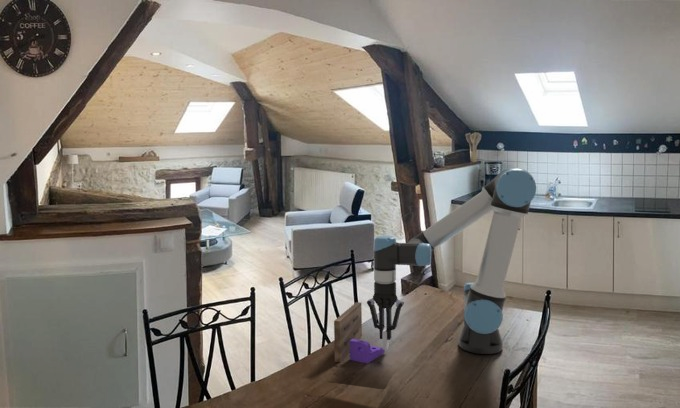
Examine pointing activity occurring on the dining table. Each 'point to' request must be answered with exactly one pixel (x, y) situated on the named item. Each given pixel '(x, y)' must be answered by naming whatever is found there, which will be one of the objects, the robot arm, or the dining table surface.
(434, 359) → the dining table surface
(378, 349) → the bracket
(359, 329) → the upright wooden plank
